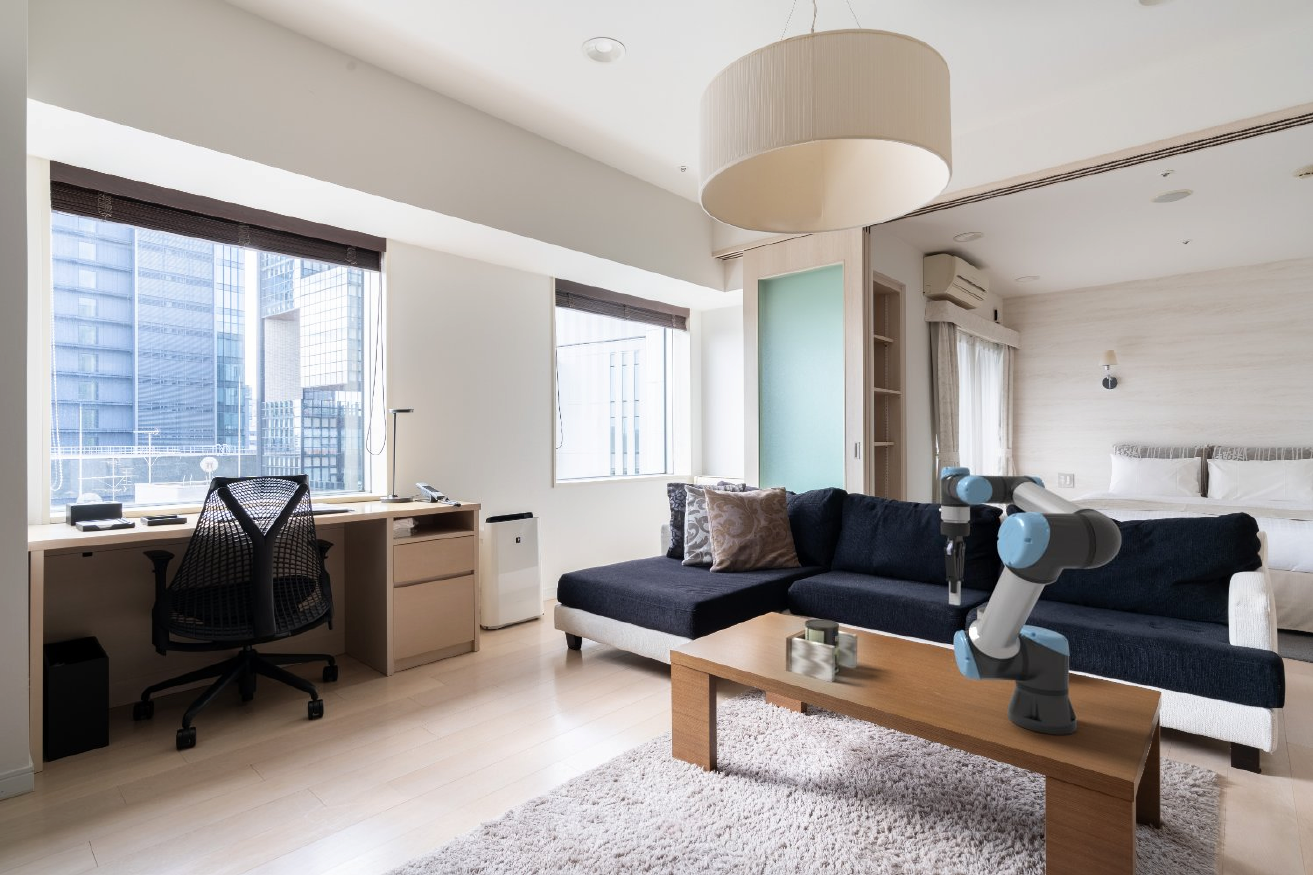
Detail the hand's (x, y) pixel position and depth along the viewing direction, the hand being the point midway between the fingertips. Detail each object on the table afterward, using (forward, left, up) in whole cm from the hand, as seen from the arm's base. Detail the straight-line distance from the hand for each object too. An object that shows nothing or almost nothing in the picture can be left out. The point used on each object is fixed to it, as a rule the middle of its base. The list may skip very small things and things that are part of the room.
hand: (954, 604), depth 191 cm
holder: (+16, +33, -24) cm, 44 cm away
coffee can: (+17, +34, -25) cm, 45 cm away
